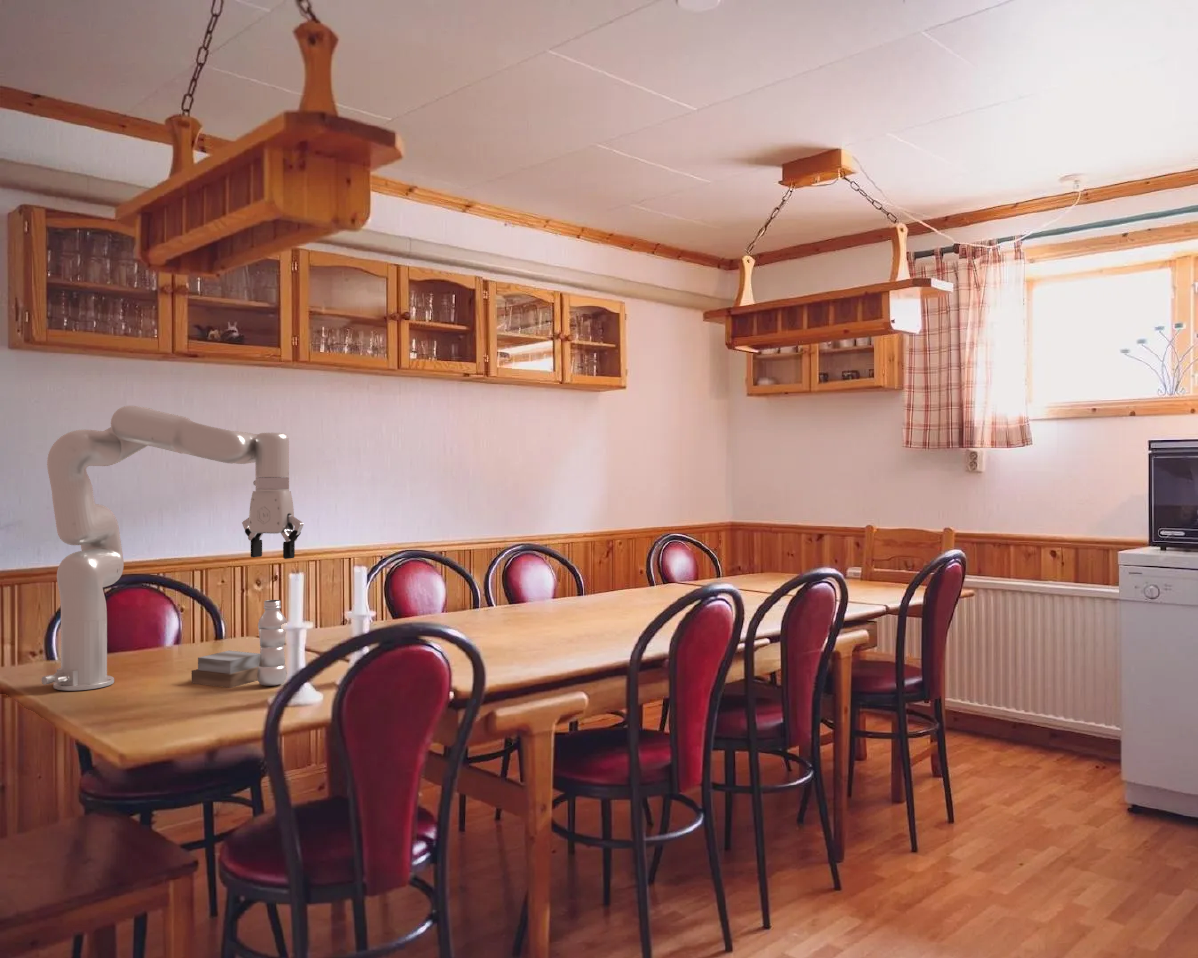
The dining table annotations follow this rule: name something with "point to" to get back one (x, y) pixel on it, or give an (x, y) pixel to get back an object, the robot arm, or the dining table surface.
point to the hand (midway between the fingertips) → (272, 557)
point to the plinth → (224, 678)
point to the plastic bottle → (272, 645)
